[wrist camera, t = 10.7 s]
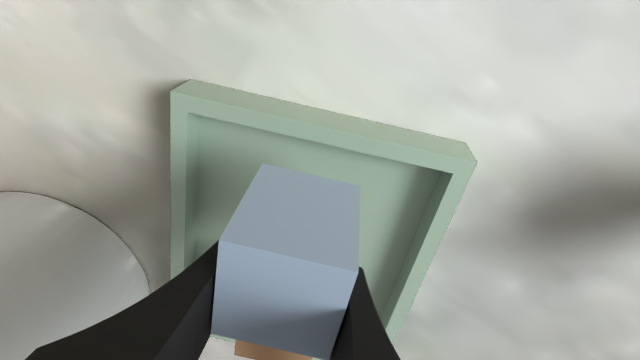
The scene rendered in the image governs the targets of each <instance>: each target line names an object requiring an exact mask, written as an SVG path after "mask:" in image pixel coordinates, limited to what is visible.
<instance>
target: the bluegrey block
mask: <svg viewBox="0 0 640 360" xmlns="http://www.w3.org/2000/svg"><path fill="white" fill-rule="evenodd" d="M360 187H361V186H359V185H355V184H351V183H346V182H342V181H338V180H333V179H329V178H325V177H320V176H316V175H312V174H307V173H303V172H299V171H294V170H290V169H286V168H281V167H277V166H273V165H268V164H264V163H262V165H261V167H260V168H259V170H258V172H257V174H256V175H255V177H254V179H253V181H252V182H251V184H250V186H249V188H248V190H247V191H246V193H245V195H244V197H243V198H242V200H241V202H240V204H239V205H238V207H237V209H236V211H235V212H234V214H233V216H232V218H231V220H230V221H229V223H228V225H227V227H226V228H225V230H224V232H223V234H222V235H221V237H220V239H219V244H218V256H217V268H216V280H215V291H214V303H213V315H212V327H211V334H214V335H218V336H223V337H227V338H231V339H236V340H240V341H244V342H249V343H253V344H257V345H262V346H266V347H270V348H275V349H279V350H283V351H288V352H292V353H297V354H301V355H305V356H310V357H314V358H318V359H323V360H329V358H330V355H331V352H332V349H333V346H334V343H335V340H336V337H337V334H338V332H339V329H340V326H341V323H342V320H343V317H344V314H345V311H346V308H347V305H348V302H349V299H350V296H351V293H352V290H353V287H354V284H355V281H356V278H357V275H358V272H359V230H360Z"/></svg>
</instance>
